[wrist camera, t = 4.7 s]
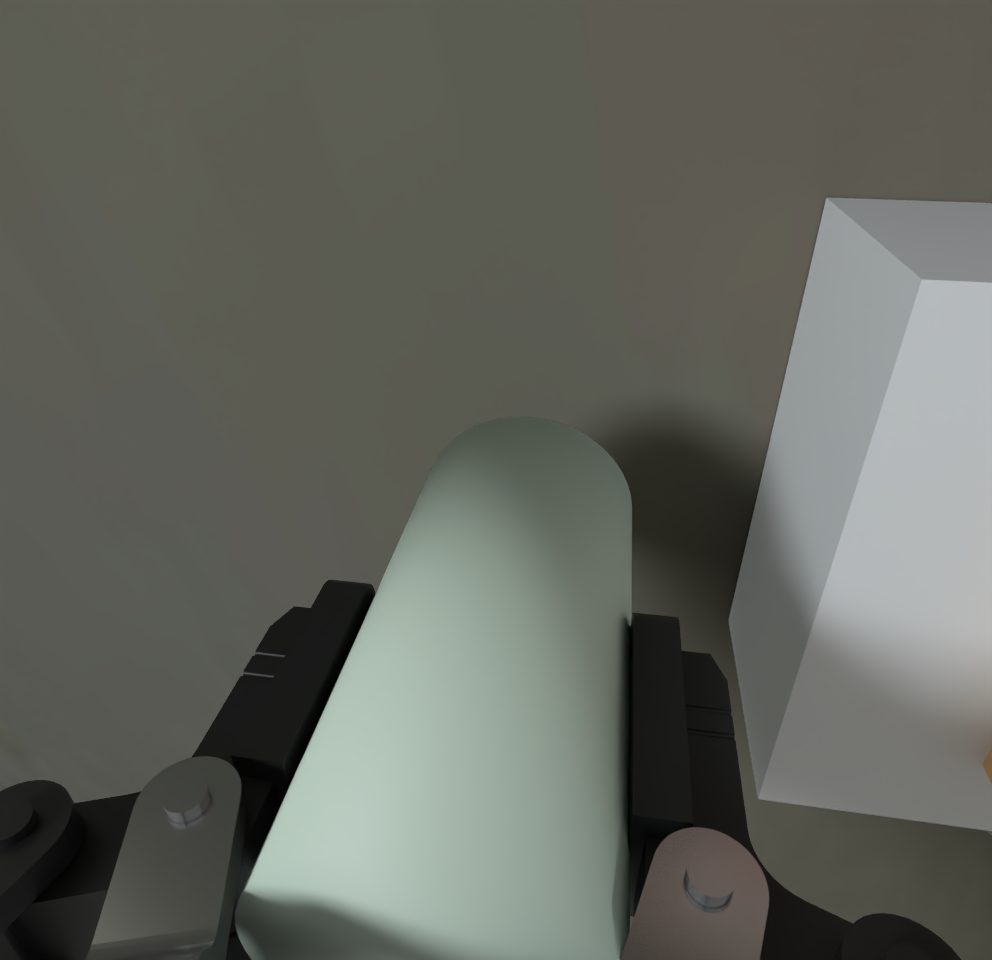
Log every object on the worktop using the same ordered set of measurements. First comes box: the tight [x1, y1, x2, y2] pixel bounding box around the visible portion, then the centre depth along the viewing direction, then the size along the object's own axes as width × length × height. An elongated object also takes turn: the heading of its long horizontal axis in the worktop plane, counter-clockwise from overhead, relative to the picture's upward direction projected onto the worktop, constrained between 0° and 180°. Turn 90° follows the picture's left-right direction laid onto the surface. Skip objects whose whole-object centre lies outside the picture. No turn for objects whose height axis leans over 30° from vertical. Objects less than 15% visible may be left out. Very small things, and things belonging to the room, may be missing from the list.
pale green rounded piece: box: [235, 417, 632, 960], centre depth 12 cm, size 4×4×9 cm
